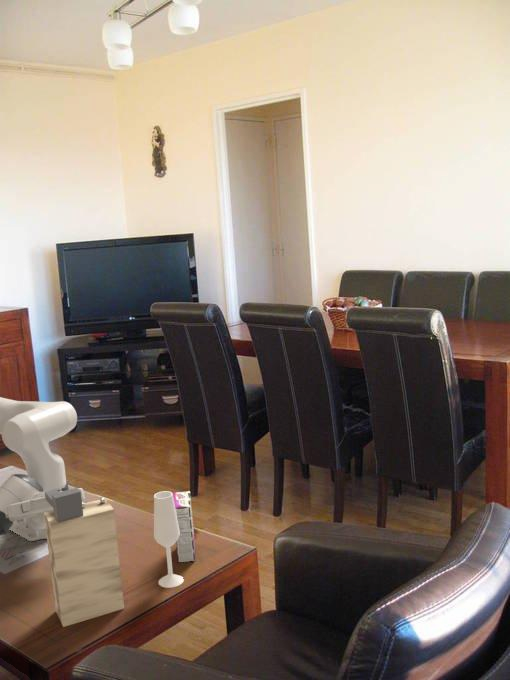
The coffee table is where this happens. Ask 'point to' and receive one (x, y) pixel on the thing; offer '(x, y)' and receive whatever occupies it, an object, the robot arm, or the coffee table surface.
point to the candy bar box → (184, 527)
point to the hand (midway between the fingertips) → (49, 498)
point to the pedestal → (85, 563)
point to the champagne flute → (166, 533)
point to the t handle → (65, 504)
